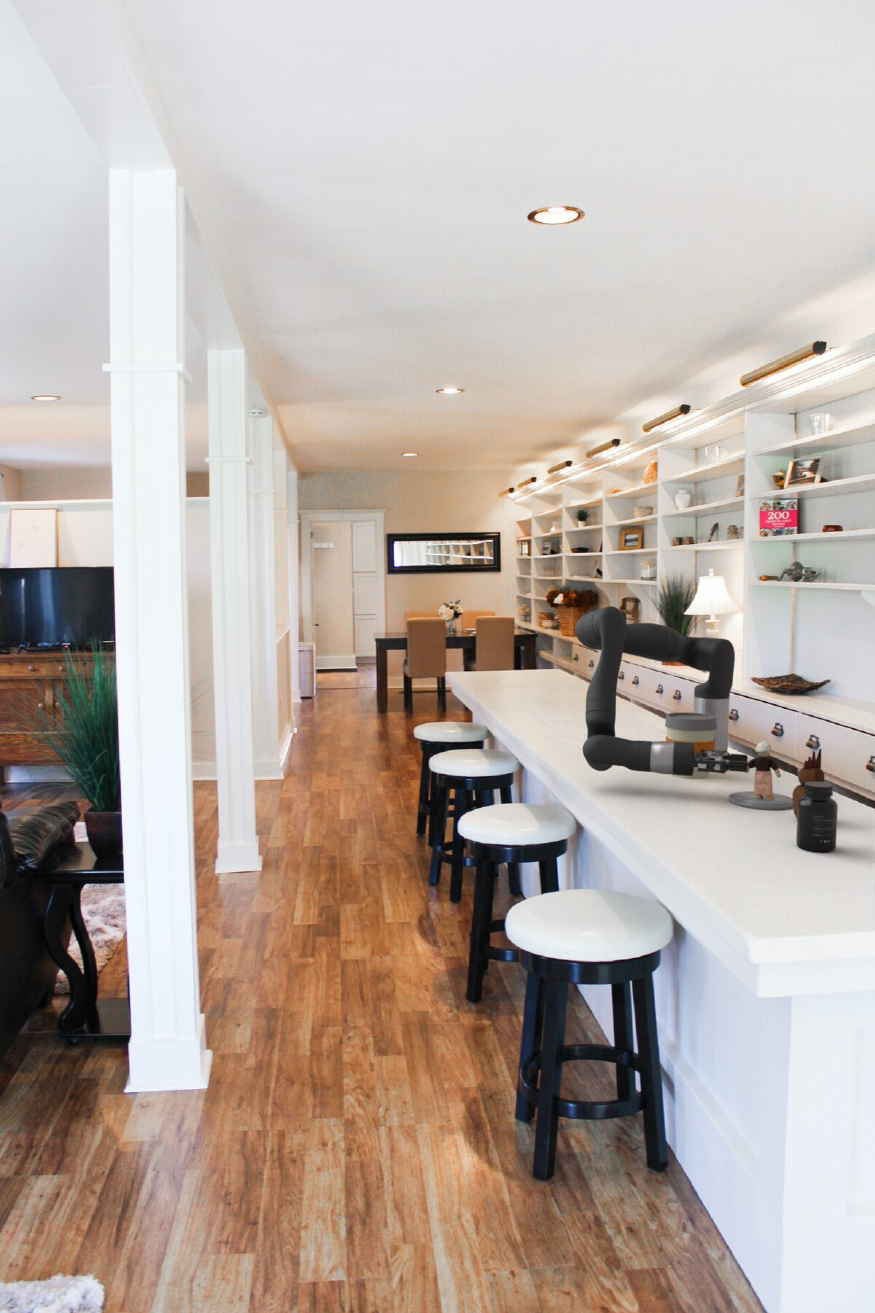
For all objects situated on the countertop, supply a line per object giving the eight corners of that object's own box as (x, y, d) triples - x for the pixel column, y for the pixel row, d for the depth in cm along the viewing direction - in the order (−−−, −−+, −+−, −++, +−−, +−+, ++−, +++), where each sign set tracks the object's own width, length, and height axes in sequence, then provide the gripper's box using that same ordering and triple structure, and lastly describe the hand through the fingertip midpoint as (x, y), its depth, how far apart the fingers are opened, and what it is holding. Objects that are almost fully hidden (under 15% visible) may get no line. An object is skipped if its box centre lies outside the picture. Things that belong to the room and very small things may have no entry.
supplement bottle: (789, 843, 176) (791, 780, 175) (824, 842, 176) (827, 779, 175) (806, 854, 169) (809, 788, 168) (843, 853, 169) (846, 788, 168)
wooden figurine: (822, 818, 194) (825, 746, 193) (831, 826, 188) (834, 752, 187) (788, 817, 195) (791, 746, 193) (796, 824, 189) (799, 751, 188)
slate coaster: (729, 792, 216) (729, 789, 216) (794, 798, 212) (794, 794, 212) (728, 806, 203) (728, 802, 203) (797, 812, 199) (797, 808, 199)
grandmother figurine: (779, 797, 208) (781, 741, 207) (780, 801, 205) (782, 744, 204) (742, 794, 211) (745, 739, 210) (743, 798, 207) (745, 741, 206)
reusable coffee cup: (659, 777, 232) (661, 717, 231) (667, 768, 244) (669, 711, 242) (712, 782, 227) (714, 721, 226) (717, 772, 239) (719, 714, 238)
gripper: (670, 747, 206) (748, 752, 201) (675, 736, 219) (748, 741, 214) (669, 780, 206) (747, 786, 201) (673, 768, 220) (746, 773, 215)
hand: (747, 763), depth 208 cm, fingers open, 8 cm apart
